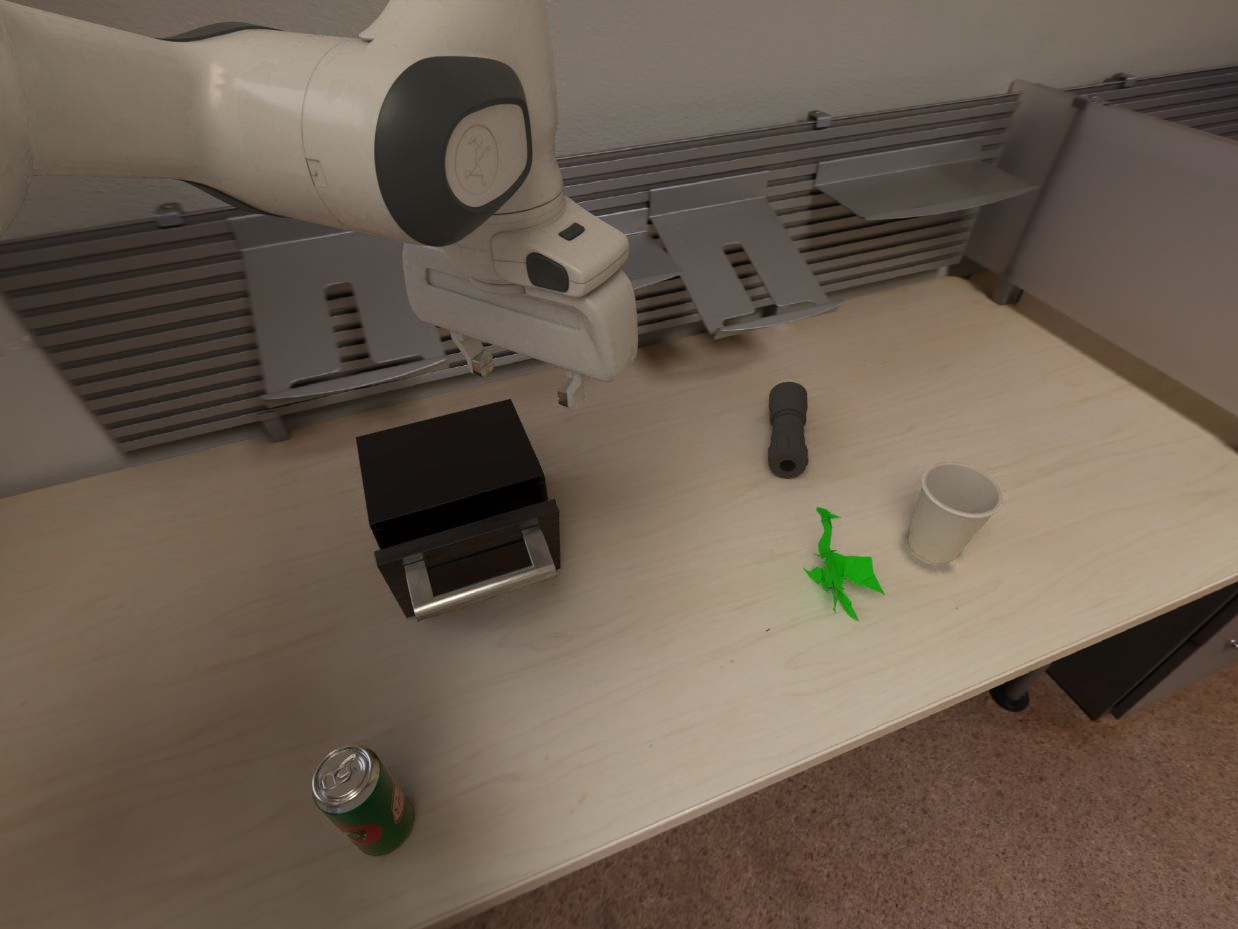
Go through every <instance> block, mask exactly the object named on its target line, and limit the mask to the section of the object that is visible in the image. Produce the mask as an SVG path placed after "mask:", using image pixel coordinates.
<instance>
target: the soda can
mask: <svg viewBox="0 0 1238 929" xmlns="http://www.w3.org/2000/svg"><path fill="white" fill-rule="evenodd" d="M311 783H312V784H311V796H312V800H313V803H314V804H315V806H316V807H317V809H318V810H320V812H322V814H323V815H324V816H325V817H326V818H328V820H329V821H330V822H331V823H332V824H333V825H334V826H335V827H336V828H337V829H338V830H340V832H342V834H343V835H344V836H345V837H346V838H347V839H348V840H349V841H350V842H351V843H352V844H353V845H354V846H355V847H356V848H357V849H358V850H359V851H360V852H361V853H363V854H364V855H366V856H369V857H382V856H386V855H389V854H391V853H392V852H395V850H397V849H398V848H399V847H400V846H401V845H402V844H403V843H404V842H405V841H406V839H407V838H408V837H409V834H410V832H411V830H412V826H413V822H414V812H413V811H414V809H413V807H412V804H411V802H410V801H409V800H408V798H407V796H406V795H405V794H404V792H403V791H402V789H401V788H400V786H399V785H398V784H397V782H396V780H394V778H393V776H392V774H391V773H390V772H389V770H388V769H387V767H386V766H385V765H384V763H383V761H382V760H381V759H380V758H379V756H378V755H377V753H376V752H374V750H372V749H371V748H369V747H367V746H363V745H356V744H346V745H342V746H339V747H337V748H335V749H333V750H331V751H330V752H329V753H327V754H326V755H325V756H324V757H323V758H322V759H321V760H320V762H319V763H318V765H317V767H316V768H315V770H314V773H313V776H312V782H311Z"/></svg>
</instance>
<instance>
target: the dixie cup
mask: <svg viewBox="0 0 1238 929" xmlns="http://www.w3.org/2000/svg"><path fill="white" fill-rule="evenodd" d="M920 482H921V487H920V491H919V494H918V499H917V502H916V506H915V510H914V514H913V517H912V522H911V526H910V529H909V533H908V538H907V540H908V545H909V547H910V548H911V550H912V551H913V553H914V554H916V555H917V556H918V557H920V558H921V559H923V560H925V561H927V562H931V563H933V564H948V563H951V562H953V561H954V560H955V559H956V558H957V557H958V556H959V554H960V553H961V552H962V551H963V550H964V549H965V547H966V546H967V545H968V544H969V543H970V542H971V541H972V539H973V538H974V537H975V535H977V533H978V532H979V531H980V530H981V528H982V527H983V526H984V525H985V524H986V523H987V521H988V520H989V519H990V518H991V517H992V516H994V515H995V514H997V513H998V512H999V511H1000V510H1001V508H1002V506H1003V503H1004V495H1003V491H1002V490H1001V488H1000V486H999V484H997V482H996V481H995V480H994V479H993V478H992V477H991V476H989V475H988V473H987V474H986V472H984V471H982V470H981V469H978V468H977V467H975V466H971V465H969V464H966V463H962V462H961V463H960V462H952V461H949V462H948V461H946V462H939V463H935V464H933V465H931V466H929V467H928V468H926V469H925V471H924V472H923V473H922V475H921V481H920Z"/></svg>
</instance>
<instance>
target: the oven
mask: <svg viewBox="0 0 1238 929" xmlns="http://www.w3.org/2000/svg"><path fill="white" fill-rule="evenodd" d="M512 400H513V399H512V398H507V399H503V400H499V401H496V402H491V403H487V404H483V405H479V406H475V407H471V408H466V409H463V410H459V411H455V412H451V413H447V414H444V415H443V414H442V415H439V416H434V417H430V418H427V419H423V420H419V421H415V422H411V423H407V424H403V425H399V426H393V427H390V428H386V429H383V430H378V431H375V432H370V433H365V434H362V435H358V436H356V437H355V443H356V449H357V450H356V451H357V456H358V463H359V467H360V468H359V469H360V474H361V481H362V489H363V494H364V495H363V496H364V500H365V508H366V514H367V521H368V525H369V528H370V530H371V532H372V535H373V537H374V539H375V542H376V544H377V547H378V548H379V550H381V549H384V548H388V547H391V546H394V545H398V544H401V543H405V542H408V541H411V540H415V539H418V538H422V537H425V536H428V535H432V534H435V533H439V532H442V531H445V530H449V529H452V528H456V527H459V526H462V525H466V524H469V523H472V522H476V521H479V520H483V519H486V518H489V517H493V516H496V515H500V514H503V513H506V512H510V511H513V510H517V509H520V508H523V507H527V506H530V505H534V504H537V503H540V502H544V501H547V500H549V496H548V487H547V480H546V474H545V472H544V469H543V468H542V465H541V463H540V461H539V458H538V456H537V454H536V451H535V450H534V447H533V445H532V443H531V441H530V438H529V436H528V433H527V432H526V429H525V427H524V425H523V422H522V420H521V418H520V416H519V413H518V411H517V409H516V407H515V404H514V403H513V401H512Z"/></svg>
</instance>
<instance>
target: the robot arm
mask: <svg viewBox="0 0 1238 929" xmlns="http://www.w3.org/2000/svg"><path fill="white" fill-rule="evenodd" d="M556 78H557V77H556V68H555V60H554V52H553V44H552V38H551V32H550V26H549V18H548V15H547V10H546V4H545V0H389V1H388V2H387V4H386V5H385V7H384V9H383V10H382V11H381V12H380V14H379V15H378V17H377V18H376V19H375V20H374V21H373V22H372V23H370V25H369V26H368V27H366V29H364V30H363V31H361V32H360V33H358V38H356V37H355V38H354V37H344V36H337V35H325V34H316V33H313V34H312V33H307V32H296V31H287V30H283V29H279V28H274V27H269V26H264V25H259V24H254V23H250V22H244V21H243V22H242V21H221V22H216V23H210V24H207V25H204V26H201V27H200V26H199V27H197V28H194V29H191V30H188V31H185V32H182V33H178V34H176V35H175V34H174V35H171V36H167V37H162V38H161V37H151V36H147V35H144V34H139V33H135V32H130V31H127V30H123V29H119V28H115V27H111V26H107V25H103V24H98V23H95V22H91V21H88V20H83V19H79V18H75V17H70V16H67V15H63V14H59V13H56V12H51V11H48V10H43V9H39V8H35V7H31V6H27V5H23V4H19V3H17V2H13V1H12V2H11V1H9V0H0V239H1V238H2V237H3V236H4V235H5V233H6V232H7V231H8V230H9V228H10V227H11V225H12V223H13V222H14V221H15V219H16V218H17V216H18V215H19V212H20V211H21V208H22V207H23V204H24V202H25V200H26V197H27V194H28V191H29V189H30V185H31V181H32V177H48V176H49V177H52V176H53V177H56V176H57V177H86V178H87V177H89V178H90V177H91V178H122V179H123V178H124V179H150V180H151V179H153V180H155V179H156V180H175V181H180V182H184V183H185V184H188V185H190V186H192V187H193V188H196V189H198V190H200V191H202V192H204V193H206V194H208V195H209V196H212V197H213V198H215V199H217V200H218V201H220V202H223V203H225V204H227V205H229V206H231V207H234V208H237V210H241V211H244V212H247V213H251V214H256V215H261V216H269V217H275V218H282V219H283V218H284V219H293V220H299V221H302V222H308V223H312V224H316V225H321V226H326V227H329V228H334V229H339V230H344V231H348V232H352V233H358V234H361V235H366V236H369V237H374V238H379V239H383V240H387V241H392V242H396V243H401V244H402V243H403V247H402V258H401V259H402V269H403V277H404V284H405V290H406V295H407V299H408V304H409V307H410V309H411V310H412V312H413V313H414V315H415V316H416V317H417V318H418V320H419V321H421V322H424V323H426V324H430V325H433V326H436V327H438V328H441V329H445V330H448V331H449V334H450V338H451V340H452V341H453V343H454V344H455V345H456V347H457V348H458V350H459V351H460V352H461V353H462V355H463V357H464V358H465V359H466V363H467V368H468V372H469V373H470V374H473V375H475V376H476V375H477V376H479V377H482V378H485V377H487V376H488V374H490V373H492V372H493V371H494V369H495V363H494V361H493V359H494V356H493V352H492V351H490V350H487V349H485V347H484V345H483V343H486V344H490V345H492V346H495V347H498V348H501V349H505V350H507V351H510V352H514V353H516V354H519V355H522V356H526V357H528V358H531V359H534V360H537V361H540V362H542V363H546V364H549V365H551V366H555V367H558V368H561V369H564V370H566V371H565V374H566V377H567V378H568V379H567V380H566V381H565V382H564V384H561V385H560V387H558V388H557V397H558V400H557V402H558V405H560V406H562V407H565V408H568V409H571V410H573V411H576V410H577V409H578V408H579V407H580V406H581V405H582V404H583V402H584V400H585V385H586V383H587V382H588V380H589V379H590V378H592V379H594V380H597V381H599V382H601V383H612V382H613V381H614V380H616V379H617V378H618V377H620V376H621V375H622V374H623V373H624V372H625V371H626V370H627V369H628V368H629V367H630V366H631V365H632V364H633V362H634V361H635V359H636V357H637V355H638V349H639V329H638V327H639V325H638V310H637V302H636V295H635V290H634V287H633V284H632V282H631V280H630V278H629V277H628V275H627V274H626V273H625V271H623V269H621V267H622V266H623V265H624V264H625V262H626V261H627V260H628V258H629V254H630V242H629V239H628V237H627V236H626V234H624V232H622V231H620V230H619V229H618V228H616V227H614V226H612V225H611V224H609V223H608V222H606V221H604V220H602V219H600V218H599V217H597V216H596V215H594V214H593V213H591V212H590V211H588V210H587V209H585V208H584V207H582V206H580V204H578V203H577V202H576V201H574V200H573V199H572V198H570V197H569V196H567V195H565V191H564V180H563V179H564V178H563V176H562V171H561V168H560V166H559V163H558V160H557V156H556V146H555V144H556V134H557V129H558V124H559V103H558V91H557V90H558V89H557V79H556ZM482 342H483V343H482Z"/></svg>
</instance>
